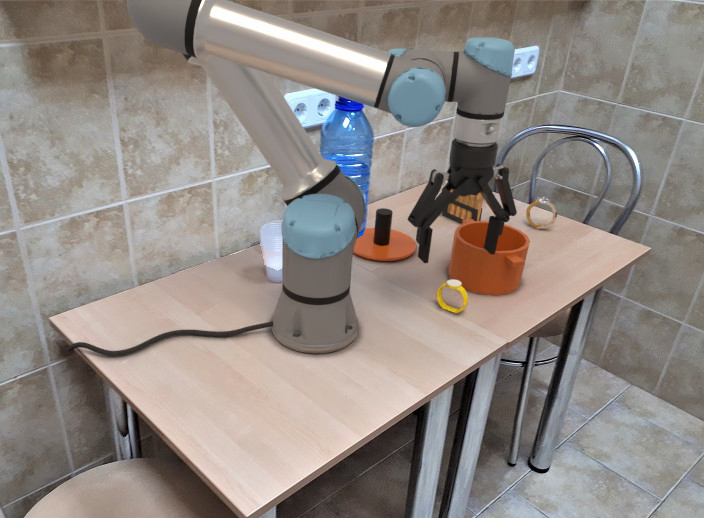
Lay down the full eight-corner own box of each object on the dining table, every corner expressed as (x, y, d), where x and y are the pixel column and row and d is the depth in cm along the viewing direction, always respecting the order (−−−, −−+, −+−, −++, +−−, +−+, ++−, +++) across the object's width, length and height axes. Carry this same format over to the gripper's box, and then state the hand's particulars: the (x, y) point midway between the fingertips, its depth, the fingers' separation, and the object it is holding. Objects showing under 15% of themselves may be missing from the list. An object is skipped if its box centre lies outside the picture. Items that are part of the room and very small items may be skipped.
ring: (521, 226, 151) (528, 195, 147) (527, 222, 153) (534, 192, 149) (549, 234, 147) (557, 203, 143) (554, 230, 150) (562, 199, 145)
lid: (360, 266, 130) (363, 229, 126) (337, 235, 143) (339, 200, 138) (427, 259, 134) (432, 222, 130) (398, 229, 147) (402, 195, 142)
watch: (467, 313, 116) (473, 285, 113) (460, 318, 114) (465, 291, 111) (440, 301, 119) (444, 274, 116) (432, 306, 117) (437, 279, 114)
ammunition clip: (479, 228, 149) (488, 181, 143) (474, 229, 148) (483, 182, 142) (446, 213, 156) (453, 168, 150) (441, 214, 155) (448, 169, 149)
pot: (476, 306, 118) (485, 262, 113) (431, 259, 134) (436, 219, 129) (541, 297, 122) (553, 254, 117) (489, 252, 138) (497, 213, 133)
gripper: (416, 152, 94) (402, 273, 105) (553, 142, 101) (527, 256, 112) (396, 138, 100) (385, 254, 111) (527, 129, 107) (504, 239, 118)
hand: (456, 255), depth 112 cm, fingers open, 13 cm apart
